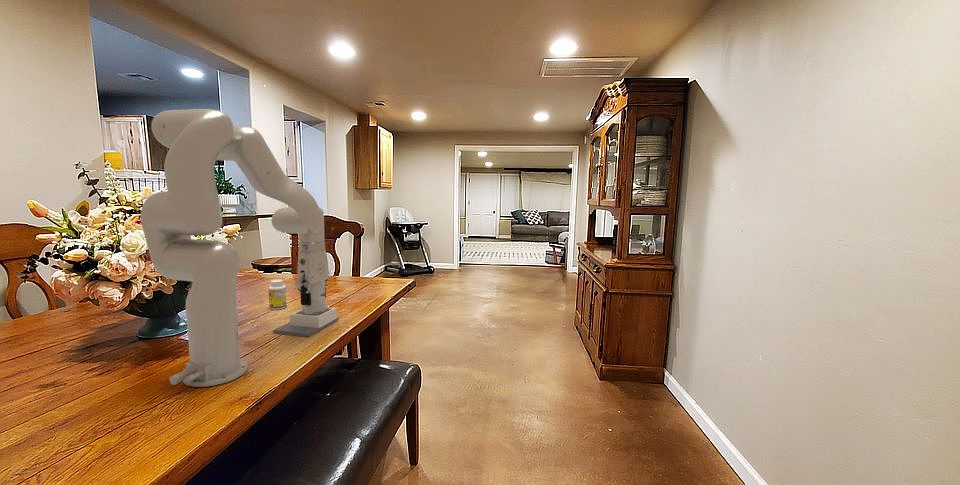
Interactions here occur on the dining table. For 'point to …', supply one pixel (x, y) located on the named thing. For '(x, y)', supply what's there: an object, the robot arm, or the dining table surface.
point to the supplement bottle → (277, 295)
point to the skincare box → (316, 298)
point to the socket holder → (308, 322)
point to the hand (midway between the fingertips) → (313, 301)
